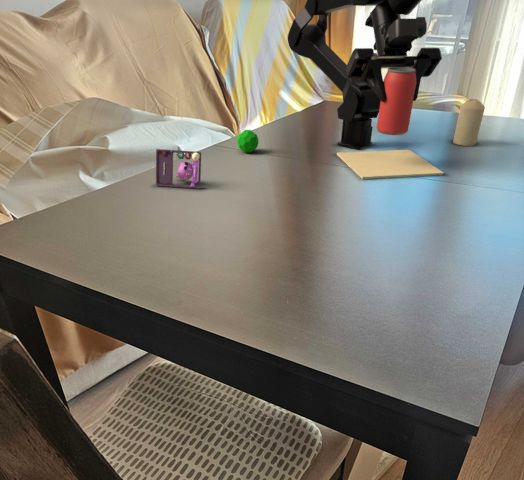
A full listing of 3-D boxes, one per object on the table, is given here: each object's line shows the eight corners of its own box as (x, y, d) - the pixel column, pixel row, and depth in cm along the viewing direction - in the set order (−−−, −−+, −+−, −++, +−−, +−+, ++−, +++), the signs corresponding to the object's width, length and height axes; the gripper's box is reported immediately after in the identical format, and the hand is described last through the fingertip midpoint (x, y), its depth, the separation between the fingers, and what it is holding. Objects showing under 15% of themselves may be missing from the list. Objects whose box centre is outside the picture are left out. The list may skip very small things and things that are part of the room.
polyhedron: (235, 149, 121) (234, 128, 118) (254, 148, 122) (254, 127, 120) (240, 155, 117) (240, 133, 115) (260, 153, 119) (261, 132, 116)
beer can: (407, 129, 111) (417, 67, 104) (408, 137, 106) (419, 72, 98) (376, 127, 112) (385, 65, 105) (376, 135, 107) (385, 70, 99)
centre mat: (336, 154, 118) (336, 152, 118) (408, 151, 121) (409, 149, 121) (362, 179, 104) (362, 176, 104) (443, 175, 107) (444, 172, 107)
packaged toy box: (154, 148, 97) (199, 151, 96) (164, 151, 102) (207, 153, 101) (154, 185, 99) (198, 188, 98) (164, 185, 104) (206, 189, 103)
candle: (477, 146, 125) (488, 102, 119) (454, 145, 126) (463, 101, 120) (474, 141, 129) (484, 98, 123) (451, 139, 130) (461, 97, 124)
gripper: (358, -1, 96) (369, 74, 94) (448, 0, 99) (462, 72, 97) (341, 42, 107) (351, 110, 105) (423, 42, 110) (434, 108, 108)
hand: (399, 100), depth 104 cm, fingers closed on beer can, 6 cm apart
